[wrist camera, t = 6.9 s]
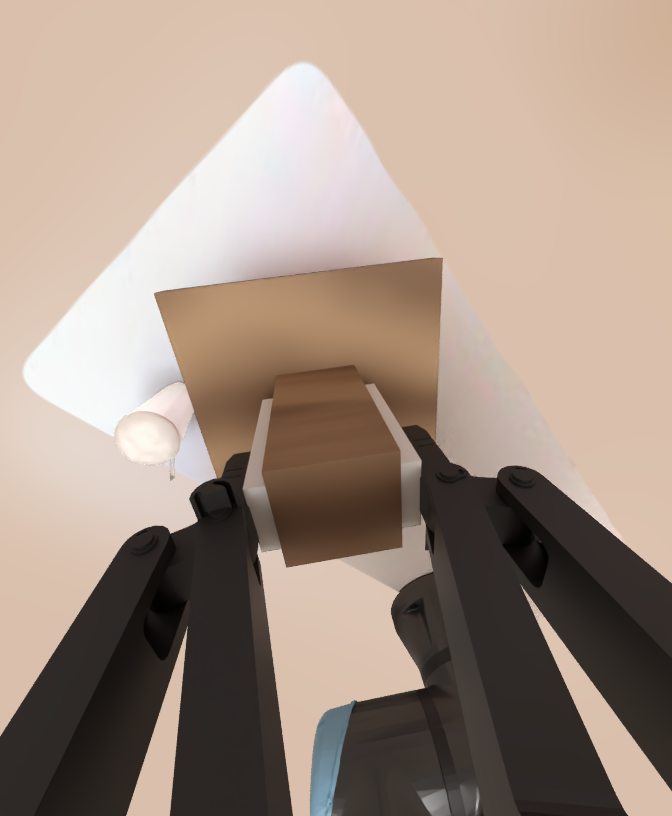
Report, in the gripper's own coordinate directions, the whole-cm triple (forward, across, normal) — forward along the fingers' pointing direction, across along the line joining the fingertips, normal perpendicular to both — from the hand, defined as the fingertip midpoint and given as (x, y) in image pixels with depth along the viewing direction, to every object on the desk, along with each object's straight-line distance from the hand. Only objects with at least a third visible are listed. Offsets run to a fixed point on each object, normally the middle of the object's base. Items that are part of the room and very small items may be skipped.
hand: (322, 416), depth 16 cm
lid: (+3, 0, 0) cm, 3 cm away
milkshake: (+16, +13, +4) cm, 21 cm away
